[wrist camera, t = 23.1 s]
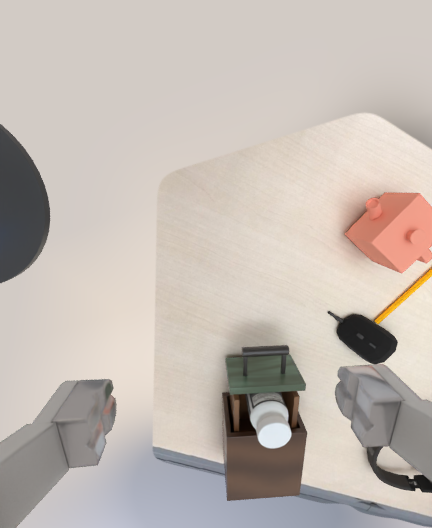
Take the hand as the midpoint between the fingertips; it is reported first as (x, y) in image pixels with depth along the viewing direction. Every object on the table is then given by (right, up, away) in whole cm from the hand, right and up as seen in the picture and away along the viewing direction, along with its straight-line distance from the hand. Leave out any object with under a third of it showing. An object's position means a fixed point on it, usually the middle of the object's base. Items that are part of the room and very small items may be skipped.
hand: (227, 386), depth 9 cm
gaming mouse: (+25, -8, +34) cm, 43 cm away
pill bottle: (+7, -16, +34) cm, 38 cm away
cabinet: (+7, -26, +39) cm, 48 cm away
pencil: (+33, +1, +32) cm, 46 cm away
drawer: (+7, -16, +35) cm, 39 cm away
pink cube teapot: (+23, +10, +29) cm, 38 cm away
